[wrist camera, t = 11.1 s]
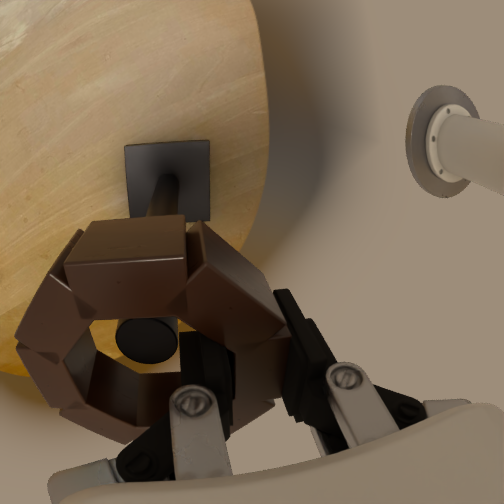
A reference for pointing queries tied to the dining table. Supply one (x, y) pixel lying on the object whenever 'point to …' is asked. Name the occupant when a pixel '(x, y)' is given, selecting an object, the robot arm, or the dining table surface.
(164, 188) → the dark grey peg stand
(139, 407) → the ring
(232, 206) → the dining table surface
